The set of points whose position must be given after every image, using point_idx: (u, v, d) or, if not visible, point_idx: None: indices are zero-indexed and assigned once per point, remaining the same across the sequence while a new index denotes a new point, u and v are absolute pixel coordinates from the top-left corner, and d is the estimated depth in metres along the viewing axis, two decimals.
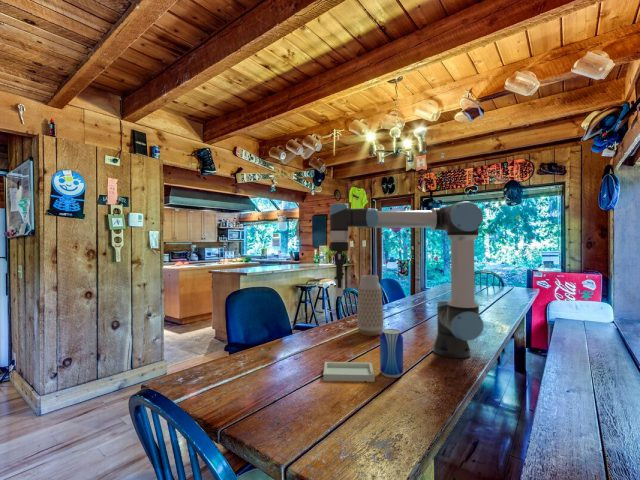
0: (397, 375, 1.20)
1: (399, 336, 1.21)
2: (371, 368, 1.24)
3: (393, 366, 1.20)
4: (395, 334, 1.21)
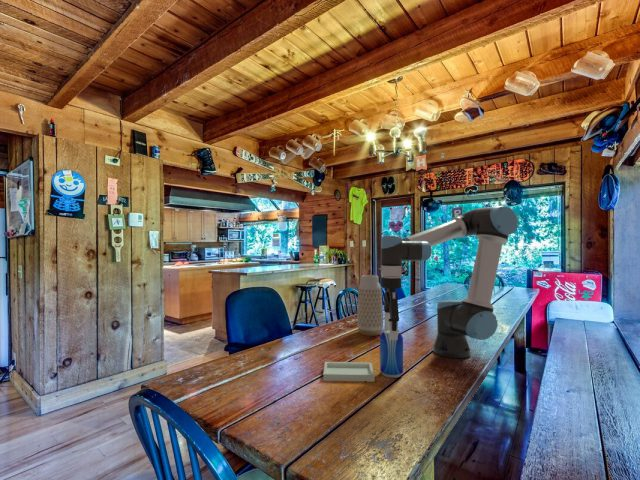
0: (397, 375, 1.20)
1: (399, 336, 1.21)
2: (371, 368, 1.24)
3: (393, 366, 1.20)
4: None
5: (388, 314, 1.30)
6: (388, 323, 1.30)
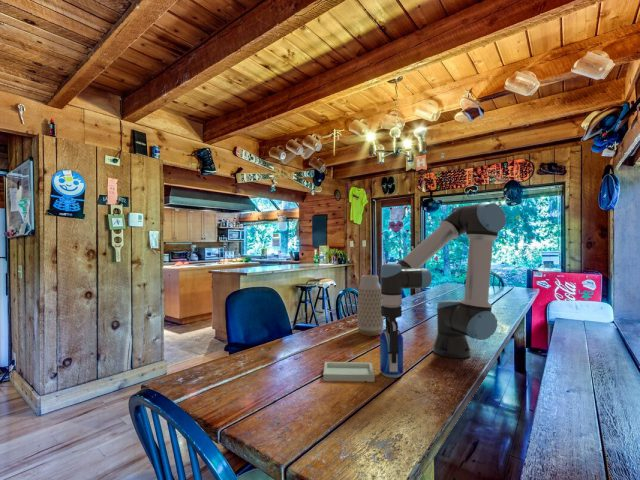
0: (397, 375, 1.20)
1: (399, 336, 1.21)
2: (371, 368, 1.24)
3: None
4: None
5: None
6: None
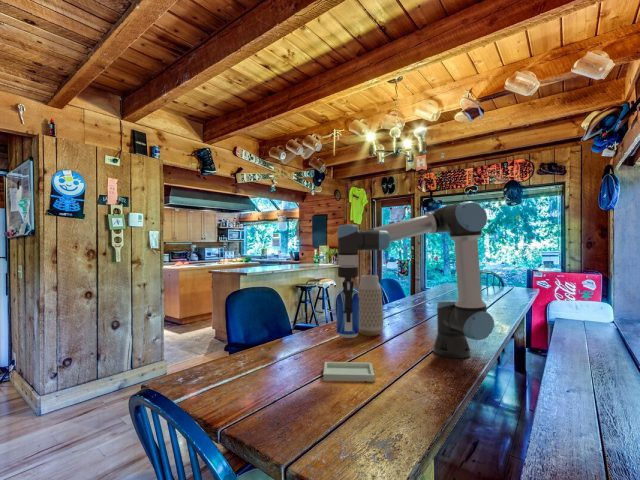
0: (352, 335, 1.20)
1: (355, 296, 1.21)
2: (371, 368, 1.24)
3: None
4: None
5: None
6: None
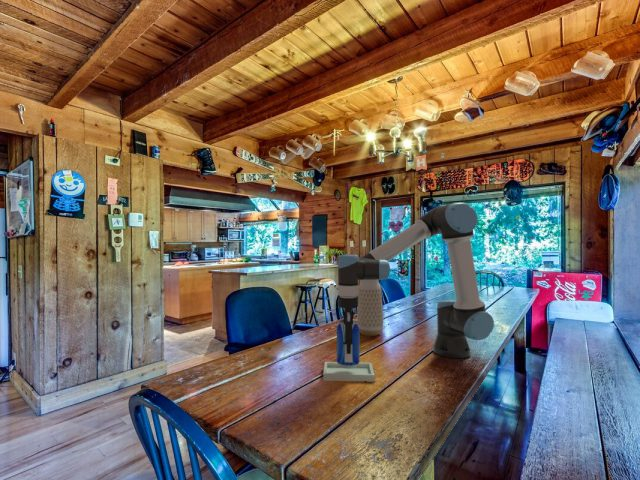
0: (352, 366, 1.20)
1: (355, 327, 1.21)
2: (371, 368, 1.24)
3: None
4: None
5: None
6: None
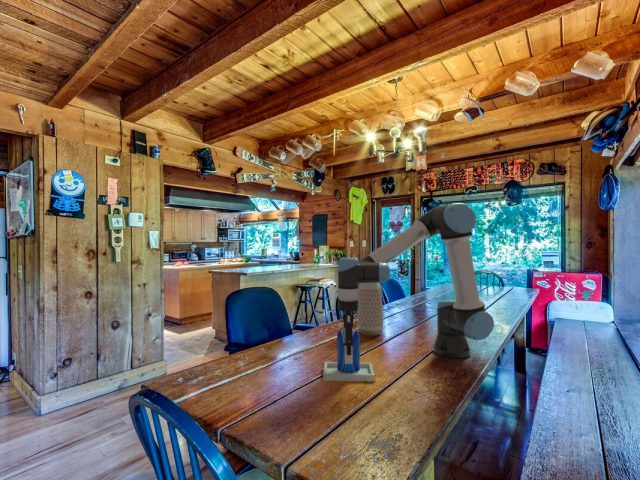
0: (353, 373, 1.20)
1: (355, 334, 1.21)
2: (371, 368, 1.24)
3: (349, 364, 1.20)
4: None
5: None
6: None
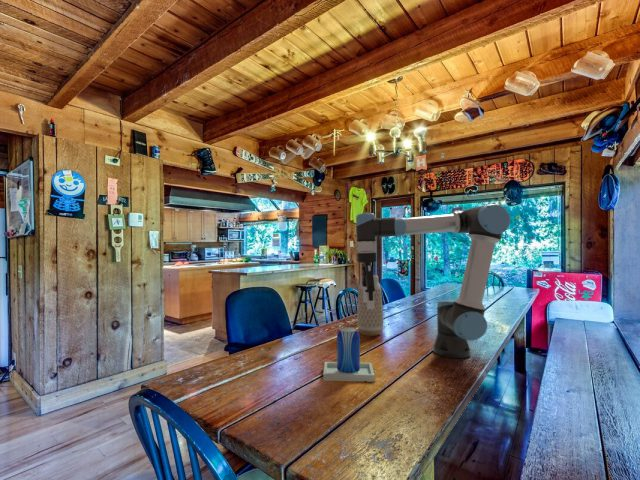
0: (353, 373, 1.20)
1: (355, 334, 1.21)
2: (371, 368, 1.24)
3: (349, 364, 1.20)
4: (351, 332, 1.21)
5: (366, 288, 1.40)
6: (366, 296, 1.40)
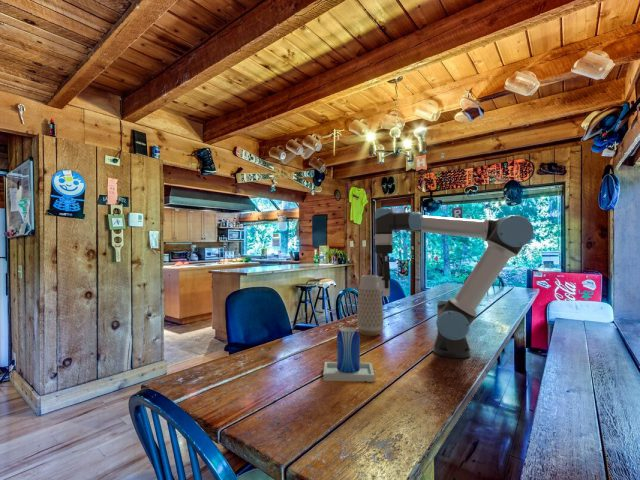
0: (353, 373, 1.20)
1: (355, 334, 1.21)
2: (371, 368, 1.24)
3: (349, 364, 1.20)
4: (351, 332, 1.21)
5: (382, 278, 1.50)
6: (382, 285, 1.50)
